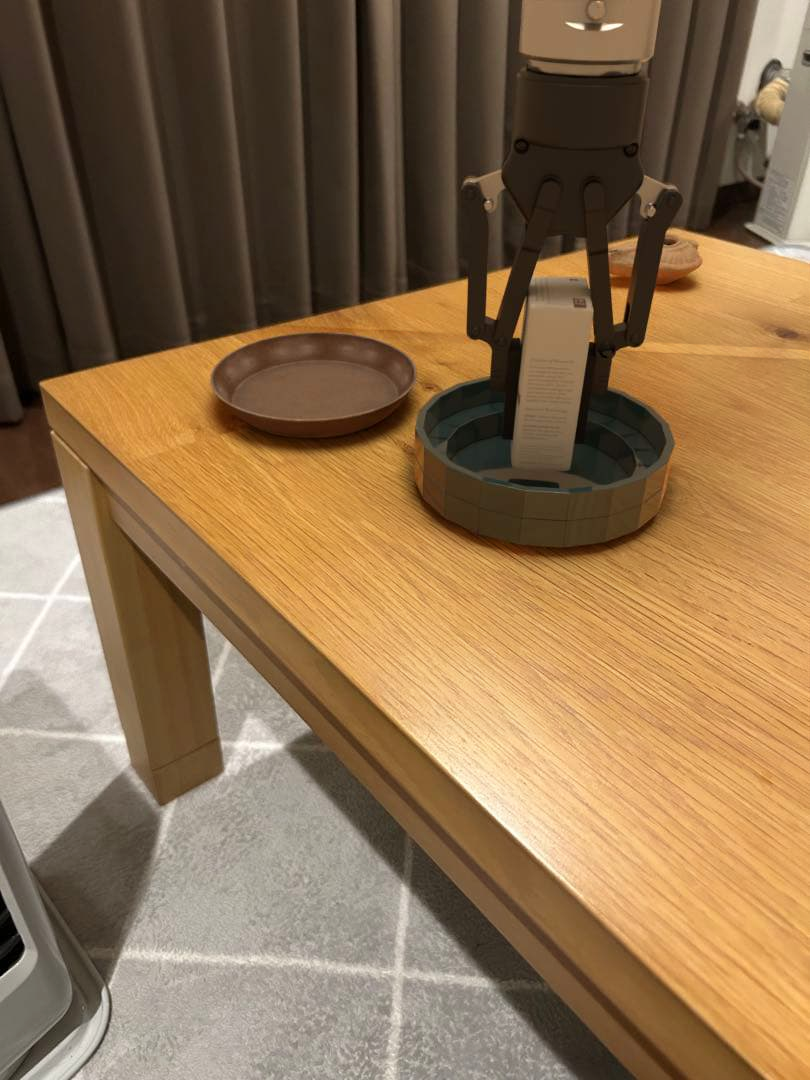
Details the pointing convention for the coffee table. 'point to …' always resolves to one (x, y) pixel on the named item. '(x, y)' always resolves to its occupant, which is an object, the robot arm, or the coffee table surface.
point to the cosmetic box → (551, 372)
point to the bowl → (541, 496)
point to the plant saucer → (314, 383)
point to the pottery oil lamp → (673, 264)
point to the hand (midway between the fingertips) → (542, 432)
